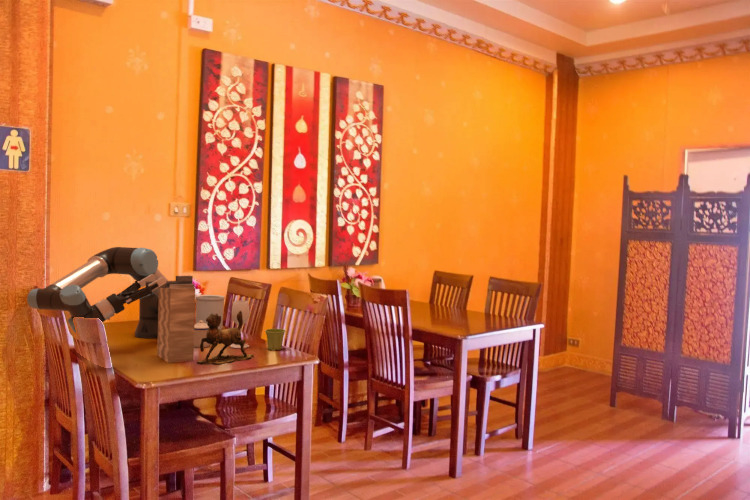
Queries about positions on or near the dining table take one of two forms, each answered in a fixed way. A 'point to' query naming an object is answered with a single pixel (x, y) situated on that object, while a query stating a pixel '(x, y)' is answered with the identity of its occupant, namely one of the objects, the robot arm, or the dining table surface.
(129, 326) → the dining table surface
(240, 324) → the figurine
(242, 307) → the wineglass
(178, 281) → the dark wood beam
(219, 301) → the utensil holder
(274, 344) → the plant pot
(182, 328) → the stand
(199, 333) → the teacup with lid
